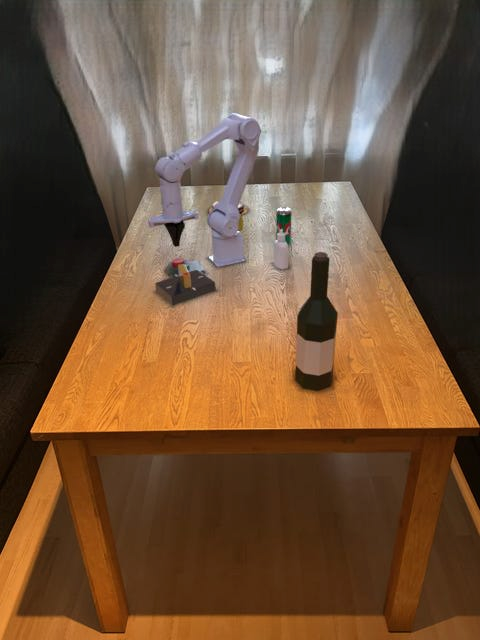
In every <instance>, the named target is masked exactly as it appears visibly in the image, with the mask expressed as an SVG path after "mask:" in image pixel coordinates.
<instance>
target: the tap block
mask: <svg viewBox="0 0 480 640" xmlns="http://www.w3.org/2000/svg"><path fill="white" fill-rule="evenodd" d="M189 274H190V279H191V288H185V287H184V286H183V284H182V282H181V280H180V278H179V276H177V275H176V274H175V277H169V278H167V279H163V280H160V281H156V282H155V283H154V284H155V285H154V286H155V291H156V292H155V293H157V295H159V296H160V297H162V298H163V299H164V300H165V301H166V302H167V303H169V304H170V305H171V306H172V307H173V306H176V305H180V304H182V303H184V302H188V301H191V300H193V299H197V298H199V297H203V296H205V295H207V294H210V293H213V292H216V281H214V280H213V279H211V278H210V277H208V276H207V275H206V274H203V273H201V272H200V271H199V270H194V271H191V272H189Z"/></svg>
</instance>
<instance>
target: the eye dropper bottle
mask: <svg viewBox="0 0 480 640" xmlns="http://www.w3.org/2000/svg"><path fill="white" fill-rule="evenodd" d="M273 265H274V267H276V268H277V269H279V270H286V269H288V268H289V245H288V244H287V242H286V241H285V233H283V230H282V229H281V230H280V233H278V234H277V240H276V239H275V240H274V242H273Z"/></svg>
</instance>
